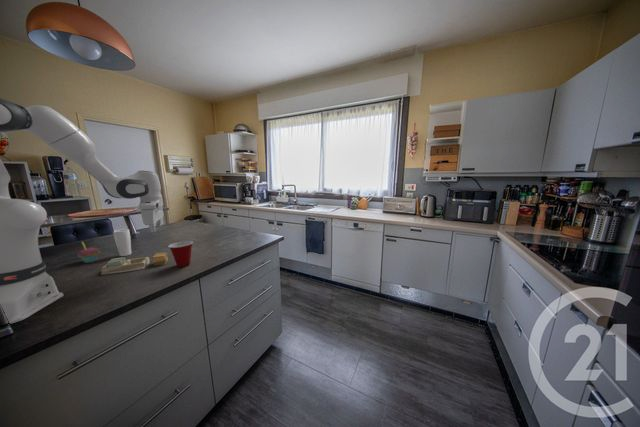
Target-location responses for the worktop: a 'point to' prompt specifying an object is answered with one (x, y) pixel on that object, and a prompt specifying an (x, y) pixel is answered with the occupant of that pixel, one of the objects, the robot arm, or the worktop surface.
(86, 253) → the cupcake
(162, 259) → the ochre block
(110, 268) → the slot board
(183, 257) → the plastic cup
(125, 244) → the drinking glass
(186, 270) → the worktop surface
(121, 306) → the worktop surface
